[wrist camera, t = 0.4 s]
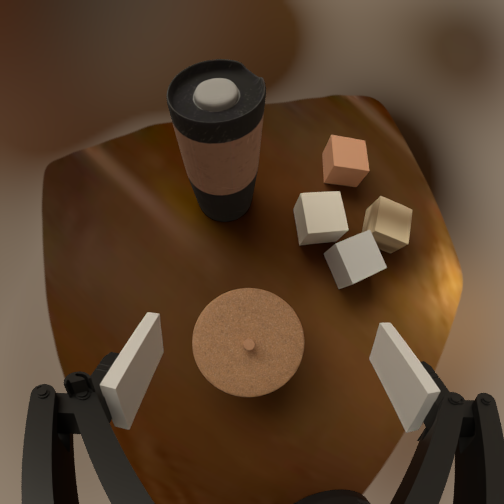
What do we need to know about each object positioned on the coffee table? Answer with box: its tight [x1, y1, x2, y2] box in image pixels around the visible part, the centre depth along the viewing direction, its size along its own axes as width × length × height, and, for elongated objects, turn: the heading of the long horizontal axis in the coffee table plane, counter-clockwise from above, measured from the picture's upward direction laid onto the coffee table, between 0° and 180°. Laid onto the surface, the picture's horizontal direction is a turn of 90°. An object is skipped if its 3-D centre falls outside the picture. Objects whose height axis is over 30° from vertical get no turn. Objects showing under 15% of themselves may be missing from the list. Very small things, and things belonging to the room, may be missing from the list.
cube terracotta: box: [322, 135, 369, 187], centre depth 38 cm, size 5×5×5 cm
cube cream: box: [293, 191, 349, 245], centre depth 35 cm, size 5×5×5 cm
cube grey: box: [324, 230, 387, 289], centre depth 34 cm, size 5×5×5 cm
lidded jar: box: [192, 288, 305, 397], centre depth 29 cm, size 11×11×9 cm
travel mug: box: [167, 59, 266, 222], centre depth 28 cm, size 8×8×20 cm
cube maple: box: [362, 196, 412, 254], centre depth 36 cm, size 5×5×5 cm
